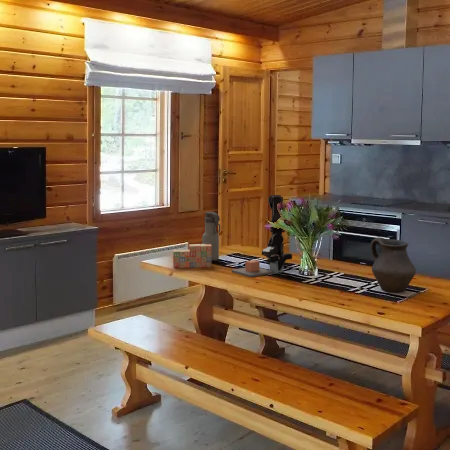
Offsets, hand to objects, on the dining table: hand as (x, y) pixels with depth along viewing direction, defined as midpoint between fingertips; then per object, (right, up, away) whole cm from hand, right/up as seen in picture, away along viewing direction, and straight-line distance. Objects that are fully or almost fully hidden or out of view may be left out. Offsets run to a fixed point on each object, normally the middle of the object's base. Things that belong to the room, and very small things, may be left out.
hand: (276, 269), depth 347 cm
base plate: (-13, -1, -2) cm, 13 cm away
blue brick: (0, -1, 0) cm, 1 cm away
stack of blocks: (-46, +1, +13) cm, 48 cm away
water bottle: (-36, +4, +34) cm, 50 cm away
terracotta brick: (-13, 0, -3) cm, 13 cm away
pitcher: (+52, -7, -39) cm, 65 cm away
